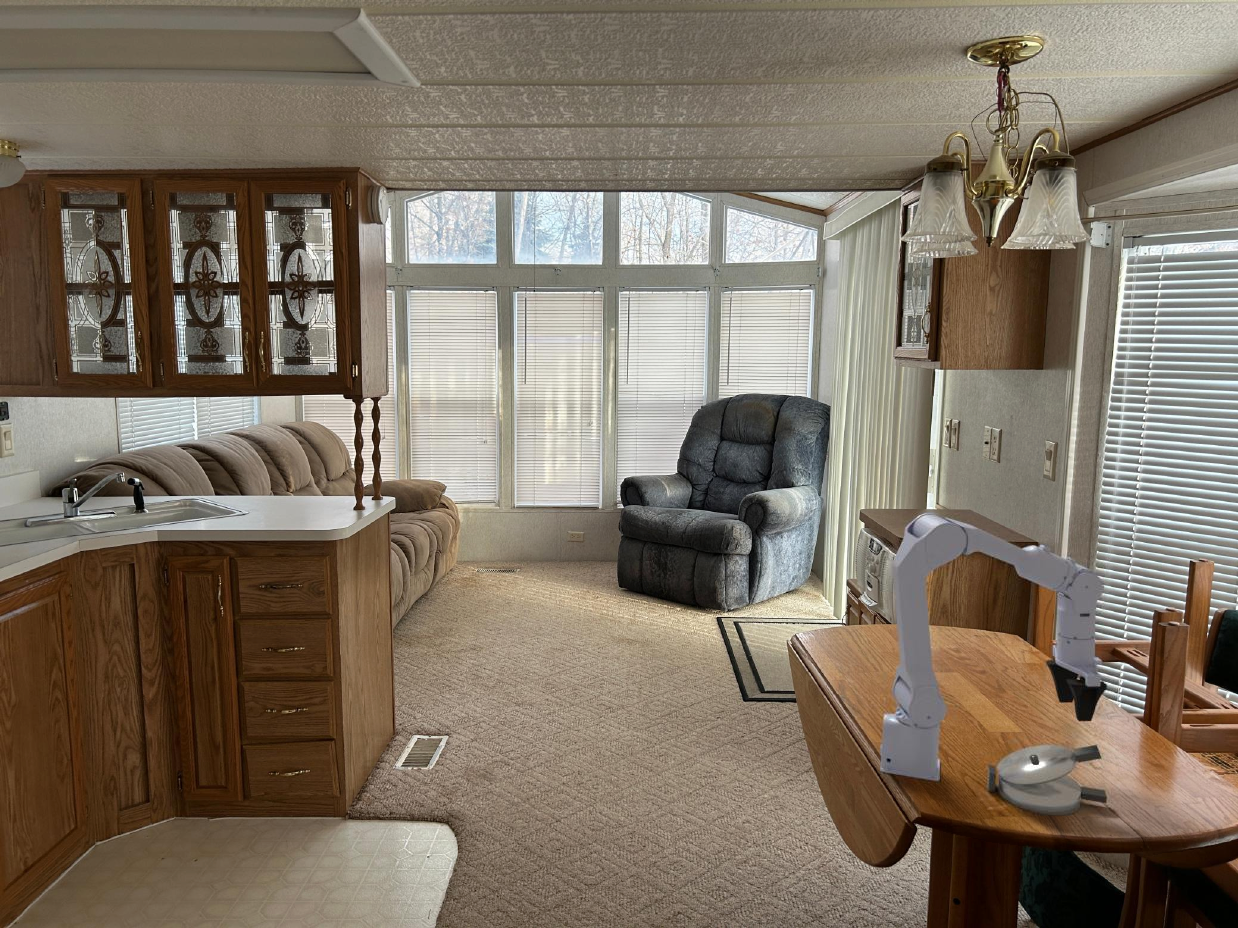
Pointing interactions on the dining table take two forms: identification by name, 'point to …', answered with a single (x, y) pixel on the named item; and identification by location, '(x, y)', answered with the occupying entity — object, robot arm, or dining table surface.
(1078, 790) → the pot
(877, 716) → the dining table surface
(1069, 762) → the lid
